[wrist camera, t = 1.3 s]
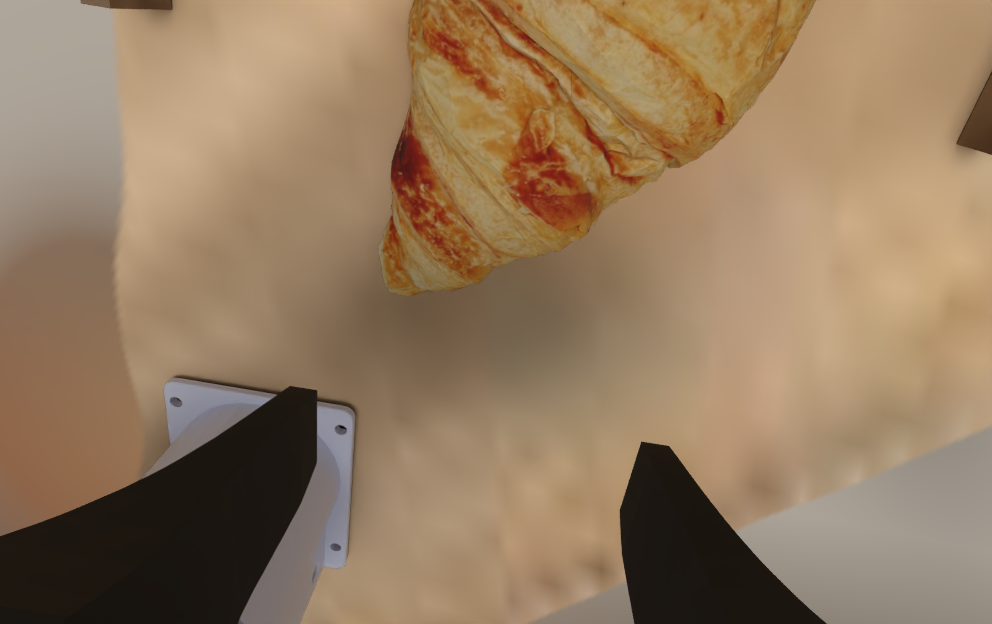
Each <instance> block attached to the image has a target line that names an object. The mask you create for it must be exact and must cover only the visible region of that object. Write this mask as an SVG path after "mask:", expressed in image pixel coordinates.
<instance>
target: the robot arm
mask: <svg viewBox="0 0 992 624" xmlns="http://www.w3.org/2000/svg"><path fill="white" fill-rule="evenodd" d="M164 397H165V405H166V413H167V422H168V430H169V438H170V447H169V448H168V449H167V450H166V451H165V452H164V453H163V455H162V456H161V457H160V458H159V459H158V460H157V462H156V463H155V464H154V465H153V466H152V467H151V468H150V470H149V471H148V472H147V473H146V474H145V475H144V476H143V478H142V479H141V480H139V481H137V482H135V483H133V484H131V485H129V486H127V487H125V488H123V489H120V490H118V491H116V492H114V493H111V494H109V495H107V496H104V497H102V498H100V499H97V500H95V501H93V502H90V503H88V504H86V505H83V506H81V507H79V508H76V509H74V510H72V511H69V512H67V513H64V514H62V515H59V516H56V517H54V518H51V519H48V520H46V521H43V522H41V523H38V524H35V525H32V526H29V527H26V528H23V529H20V530H17V531H14V532H11V533H9V534H6V535H3V536H0V624H300V622H301V620H302V617H303V615H304V612H305V610H306V607H307V605H308V602H309V600H310V597H311V595H312V592H313V590H314V588H315V585H316V583H317V580H318V578H319V575H320V573H321V570H322V568H323V567H329V568H337V569H338V568H342V567H343V566H345V563H346V560H347V556H348V538H349V521H350V503H351V485H352V468H353V450H354V433H355V413H354V412H353V410H352V409H350V408H349V407H346V406H342V405H336V404H330V403H324V402H318V401H317V390H311V389H305V388H299V387H292V386H289V387H288V388H287V389H285V390H284V391H282V392H281V393H279V394H278V395H277V394H271V393H265V392H259V391H253V390H247V389H241V388H235V387H230V386H224V385H218V384H212V383H206V382H200V381H194V380H188V379H182V378H172V379H170V380H169V381H168V382H167V383H166V384H165V386H164ZM176 397H177V398H179V399H180V400H181V401H182V402H181V401H178V400H177V399H176ZM338 425H343V426H344V427H345V428H346V429H342V428H340V427H339V426H338ZM620 527H621V545H622V557H623V563H624V569H625V574H626V580H627V585H628V591H629V596H630V602H631V607H632V613H633V619H634V623H635V624H826V623H825V622H824V621H823V620H822V619H820V618H819V617H818V616H817V615H816V614H815V613H813V612H812V611H811V610H810V609H809V608H808V607H807V606H806V605H805V604H804V603H803V602H802V601H800V600H799V599H798V598H797V597H796V596H795V595H794V594H793V593H792V592H791V591H790V590H789V589H788V588H787V587H786V586H785V585H784V584H783V583H782V582H781V581H780V580H779V579H778V578H777V577H776V576H775V575H774V574H773V573H772V572H771V571H770V570H769V569H768V568H767V567H766V566H765V565H764V564H763V563H762V562H761V561H760V560H759V559H758V557H757V556H756V555H755V554H754V553H753V552H752V551H751V550H750V548H749V547H748V546H747V545H746V544H745V543H744V542H743V541H742V539H741V538H740V537H739V536H738V535H737V534H736V532H735V531H734V530H733V529H732V528H731V526H730V525H729V524H728V523H727V522H726V520H725V519H724V518H723V517H722V515H721V514H720V513H719V512H718V510H717V509H716V508H715V507H714V505H713V504H712V503H711V502H710V500H709V499H708V498H707V496H706V495H705V494H704V492H703V491H702V490H701V488H700V487H699V486H698V484H697V483H696V482H695V480H694V479H693V478H692V476H691V475H690V474H689V472H688V471H687V470H686V468H685V467H684V465H683V464H682V463H681V461H680V460H679V459H678V457H677V456H676V455H675V453H674V452H673V451H672V449H671V448H670V447H669V446H665V445H659V444H653V443H646V442H641V445H640V448H639V451H638V454H637V457H636V461H635V464H634V467H633V470H632V473H631V477H630V480H629V483H628V486H627V489H626V492H625V496H624V499H623V502H622V505H621V508H620ZM335 543H336V544H335ZM338 544H339V545H338Z"/></svg>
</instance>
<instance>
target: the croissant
mask: <svg viewBox="0 0 992 624" xmlns="http://www.w3.org/2000/svg"><path fill="white" fill-rule="evenodd" d="M815 1H816V0H414V2H413V5H412V8H411V10H410V14H409V21H408V24H409V27H408V56H409V60H410V63H411V66H412V70H413V71H412V81H413V89H412V95H411V104H410V107H409V110H408V113H407V117H406V120H405V123H404V126H403V130H402V133H401V136H400V138H399V141H398V144H397V146H396V150H395V153H394V156H393V160H392V167H391V189H392V193H393V201H392V205H391V207H392V216H391V218H390V220H389V222H388V224H387V226H386V228H385V230H384V234H383V238H382V241H381V243H380V245H379V248H378V250H379V255H380V260H381V266H382V272H383V279H384V284H385V285H386V286H387V287H388V290H389V292H392V293H396V294H400V295H405V296H412V295H416V294H418V293H421V292H423V291H426V290H429V291H432V292H434V291H438V290H443V289H444V290H457V289H460V288H463V287H465V286H467V285H468V284H469V285H472V284H476V283H480V282H481V281H482V280H483V279H484V278H485V277H486V275H487V274H488V273H489V272H490V271H491V269H492V268H494V267H496V266H499V265H506V264H508V263H510V262H512V261H514V260H516V259H518V258H528V257H535V256H538V255H540V254H541V255H544V254H546V253H547V252H549V251H552V250H553V251H554V252H557V251H560V250H561V249H563V248H564V247H566V246H567V245H568V244H569V243H570V242H571V241H573V240H579V239H580V238H582V237H583V236H584V235H586V234H587V232H588V231H589V229H590V227H591V226H594V224H595V222H596V221H597V219H598V217H599V215H600V213H601V212H602V210H604V209H605V208H606V207H608V206H609V205H610V204H612V203H616V202H617V201H618V200H619V199H621V198H624V197H626V196H629V195H631V194H633V193H634V192H636V191H638V190H639V189H640V188H641V186H642V185H643V184H645V183H649V182H655V181H657V179H658V178H659V177H660V175H661V174H662V173H663V171H664V169H665V168H666V167H667V166H668V167H669V168H679V167H681V166H683V165H685V164H687V163H689V162H691V161H693V160H696V159H698V158H699V157H700V156H701V155H702V154H703V153H704V152H706V151H708V150H711V149H712V148H713V147H714V146H715V145H716V144H717V143H718V142H719V141H720V140H721V139H722V138H724V137H725V136H726V135H727V134H728V133H729V132H730V131H731V129H732V128H733V127H734V126H735V125H736V124H737V122H738V121H739V120H740V119H741V117H742V116H743V115H744V113H745V112H746V111H748V110H749V109H750V108H751V107H752V106H753V105H754V104H755V102H756V100H757V98H758V96H759V94H760V93H761V92H762V90H763V89H764V88H765V87H766V86H767V85H768V83H769V82H770V81H771V80H772V79H773V77H774V75H775V74H776V72H777V71H778V69H779V67H780V66H781V64H782V63H783V61H784V59H785V58H786V56H787V54H788V52H789V50H790V49H791V47H792V45H793V43H794V41H795V40H796V38H797V35H798V32H799V31H800V29H801V27H802V25H803V24H804V22H805V20H806V18H807V17H808V15H809V13H810V11H811V9H812V7H813V5H814V3H815Z"/></svg>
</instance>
